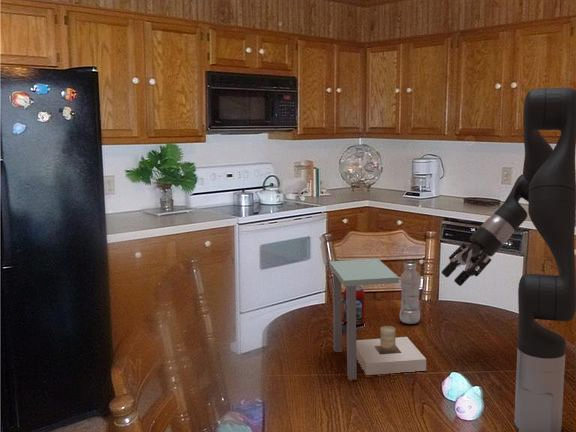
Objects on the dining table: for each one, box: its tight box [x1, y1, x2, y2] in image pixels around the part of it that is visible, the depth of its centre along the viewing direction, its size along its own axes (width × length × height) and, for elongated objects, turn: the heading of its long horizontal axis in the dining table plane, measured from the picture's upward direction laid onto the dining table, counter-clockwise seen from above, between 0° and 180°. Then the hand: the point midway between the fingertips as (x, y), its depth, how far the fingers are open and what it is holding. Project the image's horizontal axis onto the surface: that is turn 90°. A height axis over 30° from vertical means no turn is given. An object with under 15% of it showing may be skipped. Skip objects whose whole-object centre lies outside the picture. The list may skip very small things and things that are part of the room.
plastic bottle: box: [399, 260, 422, 325], centre depth 187 cm, size 6×7×20 cm
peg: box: [379, 325, 396, 355], centre depth 159 cm, size 4×4×10 cm
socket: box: [356, 336, 427, 376], centre depth 159 cm, size 16×16×4 cm
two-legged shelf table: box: [328, 258, 400, 380], centre depth 156 cm, size 14×20×26 cm
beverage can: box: [343, 285, 366, 324], centre depth 189 cm, size 7×7×12 cm
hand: (450, 279), depth 156 cm, fingers open, 8 cm apart
